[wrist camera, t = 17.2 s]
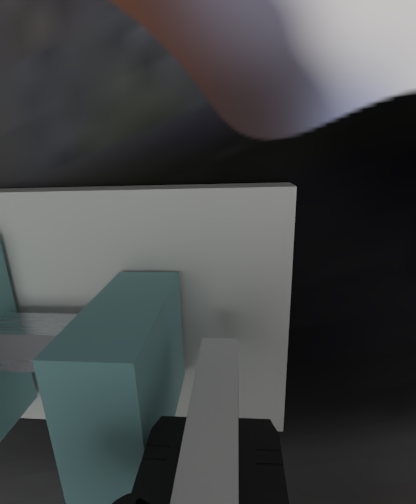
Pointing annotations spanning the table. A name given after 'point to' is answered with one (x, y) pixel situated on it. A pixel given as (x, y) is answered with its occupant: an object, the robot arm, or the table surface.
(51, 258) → the base
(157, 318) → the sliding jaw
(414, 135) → the table surface
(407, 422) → the table surface
